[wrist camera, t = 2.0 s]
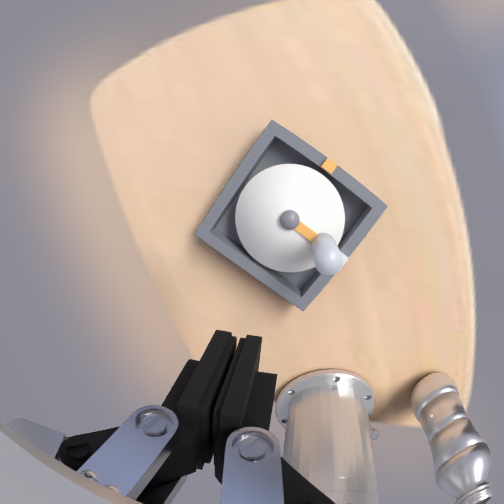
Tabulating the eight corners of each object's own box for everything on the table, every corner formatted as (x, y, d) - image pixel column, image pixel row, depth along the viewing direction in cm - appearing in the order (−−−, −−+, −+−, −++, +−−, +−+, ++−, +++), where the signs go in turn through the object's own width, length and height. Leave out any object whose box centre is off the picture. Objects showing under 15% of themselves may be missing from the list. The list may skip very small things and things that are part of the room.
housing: (378, 202, 25) (389, 206, 22) (303, 298, 28) (303, 313, 25) (274, 125, 25) (271, 118, 21) (205, 228, 28) (192, 235, 25)
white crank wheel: (220, 227, 27) (195, 244, 20) (277, 144, 24) (270, 133, 17) (300, 284, 27) (300, 318, 20) (361, 206, 24) (382, 217, 18)
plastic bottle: (402, 407, 30) (434, 529, 11) (410, 370, 29) (460, 505, 10) (442, 397, 29) (487, 507, 10) (453, 360, 28) (517, 476, 9)
